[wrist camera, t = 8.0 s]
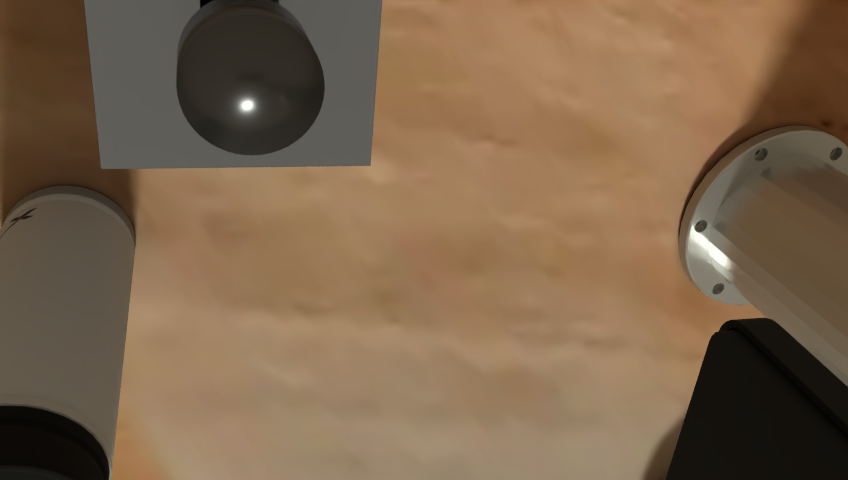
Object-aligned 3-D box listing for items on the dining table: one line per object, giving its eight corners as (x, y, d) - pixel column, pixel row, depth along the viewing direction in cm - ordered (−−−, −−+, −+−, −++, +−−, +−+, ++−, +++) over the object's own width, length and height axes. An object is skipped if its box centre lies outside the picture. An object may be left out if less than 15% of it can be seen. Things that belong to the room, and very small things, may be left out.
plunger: (294, -91, 33) (364, -18, 20) (291, 43, 35) (352, 183, 23) (151, -102, 31) (130, -29, 19) (160, 39, 34) (146, 187, 21)
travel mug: (-11, 179, 38) (-164, 489, 21) (135, 185, 40) (101, 472, 23) (-1, 290, 41) (-129, 641, 24) (135, 291, 43) (105, 615, 26)
